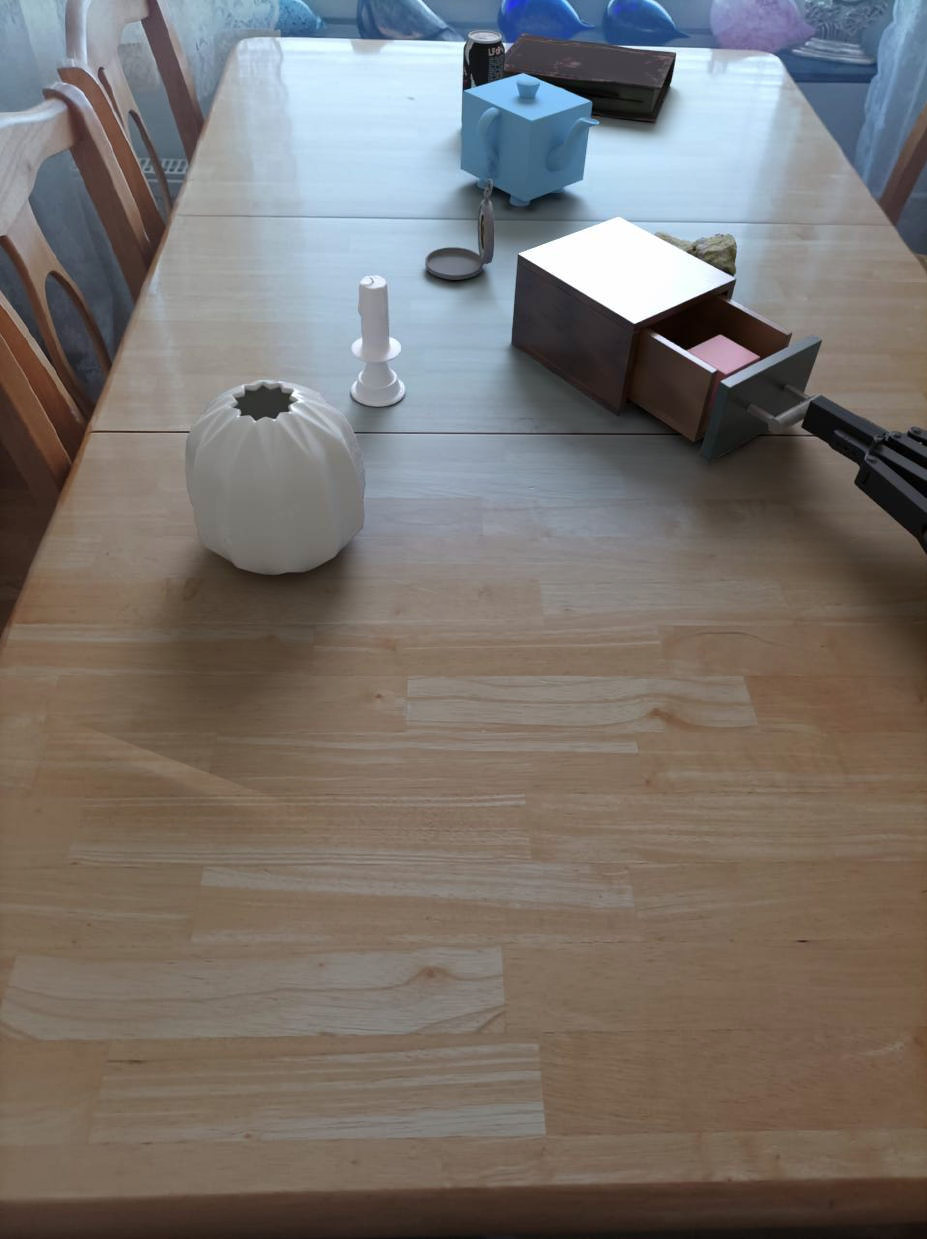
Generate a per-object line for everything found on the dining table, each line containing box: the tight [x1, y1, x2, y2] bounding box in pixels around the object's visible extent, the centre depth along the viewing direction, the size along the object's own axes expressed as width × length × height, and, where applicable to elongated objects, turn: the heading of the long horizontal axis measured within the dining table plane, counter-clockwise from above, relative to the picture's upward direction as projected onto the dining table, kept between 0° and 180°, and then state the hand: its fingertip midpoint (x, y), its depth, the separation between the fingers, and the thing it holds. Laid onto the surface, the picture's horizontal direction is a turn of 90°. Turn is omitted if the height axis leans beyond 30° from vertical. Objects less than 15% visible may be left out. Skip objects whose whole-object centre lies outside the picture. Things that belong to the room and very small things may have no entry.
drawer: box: [627, 294, 823, 463], centre depth 86 cm, size 18×13×8 cm
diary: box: [504, 32, 677, 123], centre depth 145 cm, size 19×25×5 cm
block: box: [687, 335, 760, 416], centre depth 87 cm, size 5×5×5 cm
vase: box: [184, 378, 367, 576], centre depth 72 cm, size 14×14×13 cm
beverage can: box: [461, 29, 506, 123], centre depth 131 cm, size 6×6×12 cm
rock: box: [653, 231, 738, 278], centre depth 106 cm, size 11×6×10 cm
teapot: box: [460, 73, 600, 207], centre depth 117 cm, size 18×16×13 cm
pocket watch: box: [424, 179, 496, 281], centre depth 104 cm, size 8×8×10 cm
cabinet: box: [510, 216, 737, 417], centre depth 93 cm, size 16×14×10 cm
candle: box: [350, 274, 407, 408], centre depth 87 cm, size 5×5×12 cm
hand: (811, 411), depth 80 cm, fingers closed
